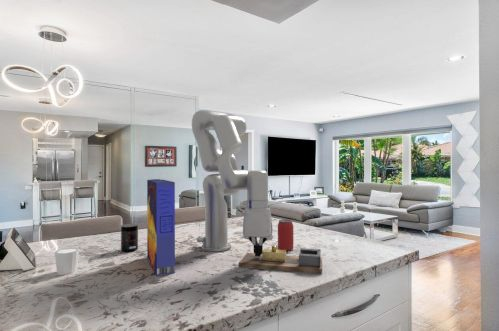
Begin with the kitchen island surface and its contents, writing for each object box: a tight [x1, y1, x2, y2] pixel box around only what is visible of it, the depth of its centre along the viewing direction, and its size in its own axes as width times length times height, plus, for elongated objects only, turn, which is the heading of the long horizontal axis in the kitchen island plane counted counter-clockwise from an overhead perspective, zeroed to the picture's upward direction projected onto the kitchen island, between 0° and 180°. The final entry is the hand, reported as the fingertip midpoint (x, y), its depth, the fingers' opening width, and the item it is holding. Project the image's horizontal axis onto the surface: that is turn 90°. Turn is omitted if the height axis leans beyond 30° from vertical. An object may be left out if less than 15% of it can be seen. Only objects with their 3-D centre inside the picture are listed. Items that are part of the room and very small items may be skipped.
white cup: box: [54, 247, 80, 276], centre depth 98 cm, size 7×7×7 cm
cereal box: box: [146, 178, 176, 277], centre depth 105 cm, size 22×6×30 cm, turn 26°
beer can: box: [277, 219, 294, 252], centre depth 124 cm, size 7×7×12 cm
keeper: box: [298, 247, 322, 267], centre depth 102 cm, size 7×9×4 cm
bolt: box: [262, 245, 287, 262], centre depth 105 cm, size 8×4×5 cm, turn 76°
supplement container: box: [120, 223, 139, 253], centre depth 123 cm, size 7×7×10 cm
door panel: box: [238, 252, 323, 275], centre depth 105 cm, size 28×12×2 cm, turn 76°
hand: (258, 255), depth 107 cm, fingers closed
